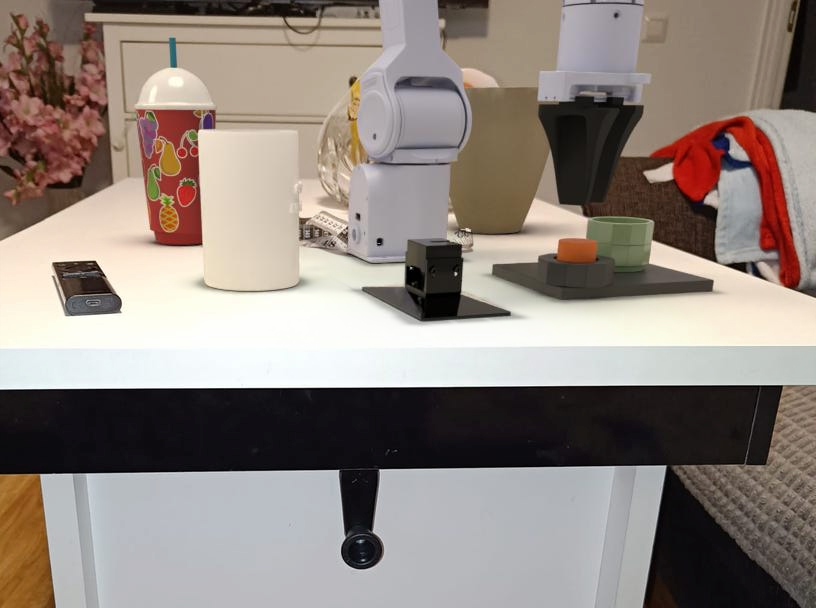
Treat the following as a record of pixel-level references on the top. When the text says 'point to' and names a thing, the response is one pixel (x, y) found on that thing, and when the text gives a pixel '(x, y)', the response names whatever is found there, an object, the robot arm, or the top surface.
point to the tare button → (577, 250)
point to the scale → (597, 279)
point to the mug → (250, 208)
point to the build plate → (434, 285)
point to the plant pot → (499, 160)
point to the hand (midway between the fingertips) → (581, 203)
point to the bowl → (622, 240)
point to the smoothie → (173, 150)
